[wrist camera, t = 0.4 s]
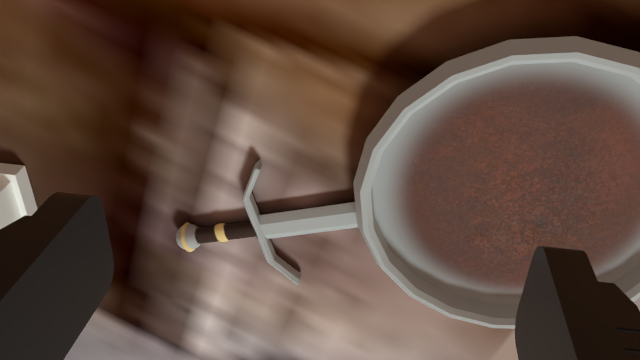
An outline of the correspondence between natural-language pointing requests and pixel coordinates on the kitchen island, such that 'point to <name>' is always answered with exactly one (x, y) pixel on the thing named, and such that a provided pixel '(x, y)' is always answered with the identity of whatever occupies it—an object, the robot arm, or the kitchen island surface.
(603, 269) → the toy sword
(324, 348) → the kitchen island surface
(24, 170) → the dish rack
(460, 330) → the kitchen island surface
